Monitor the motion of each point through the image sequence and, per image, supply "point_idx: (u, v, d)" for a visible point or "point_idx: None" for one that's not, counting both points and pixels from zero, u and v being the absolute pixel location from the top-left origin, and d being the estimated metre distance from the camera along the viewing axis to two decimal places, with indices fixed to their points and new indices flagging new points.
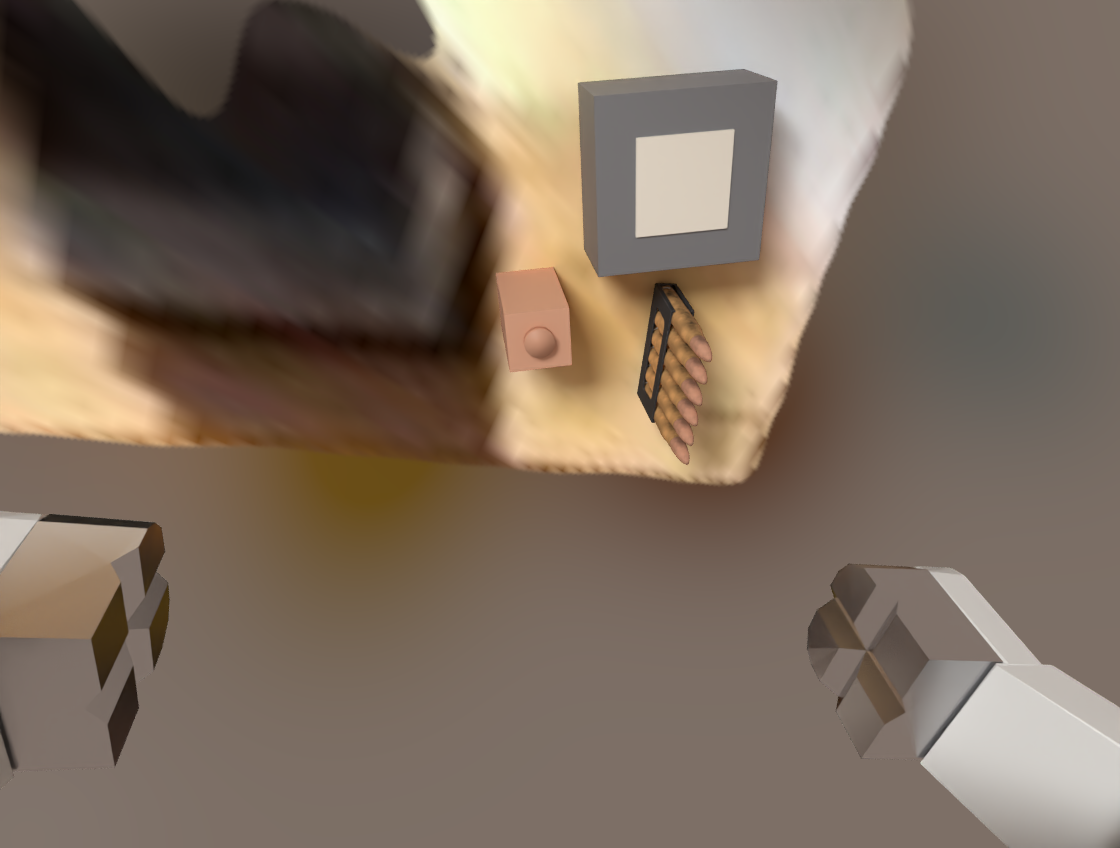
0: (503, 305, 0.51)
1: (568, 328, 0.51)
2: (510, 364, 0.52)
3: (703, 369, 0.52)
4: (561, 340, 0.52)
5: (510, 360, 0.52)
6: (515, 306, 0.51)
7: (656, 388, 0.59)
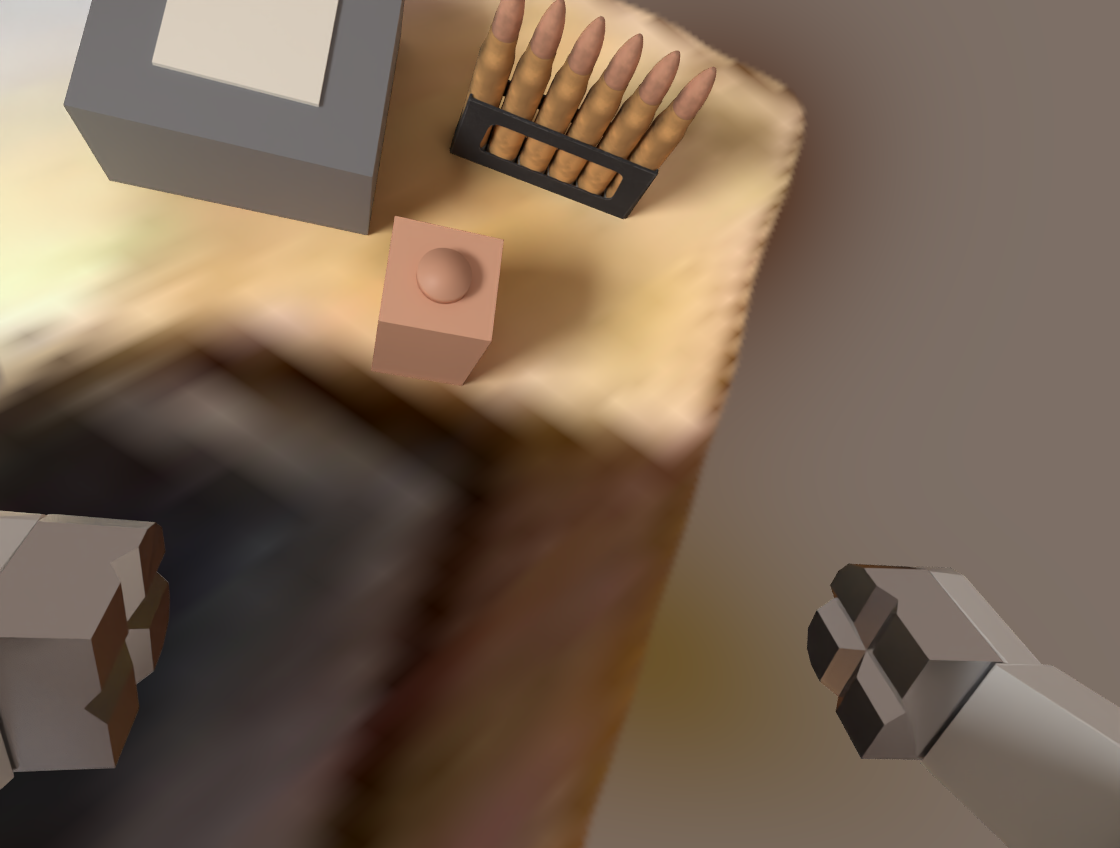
0: (377, 330, 0.30)
1: (433, 226, 0.30)
2: (476, 336, 0.30)
3: (544, 13, 0.30)
4: (453, 243, 0.30)
5: (468, 334, 0.30)
6: None
7: (599, 155, 0.37)
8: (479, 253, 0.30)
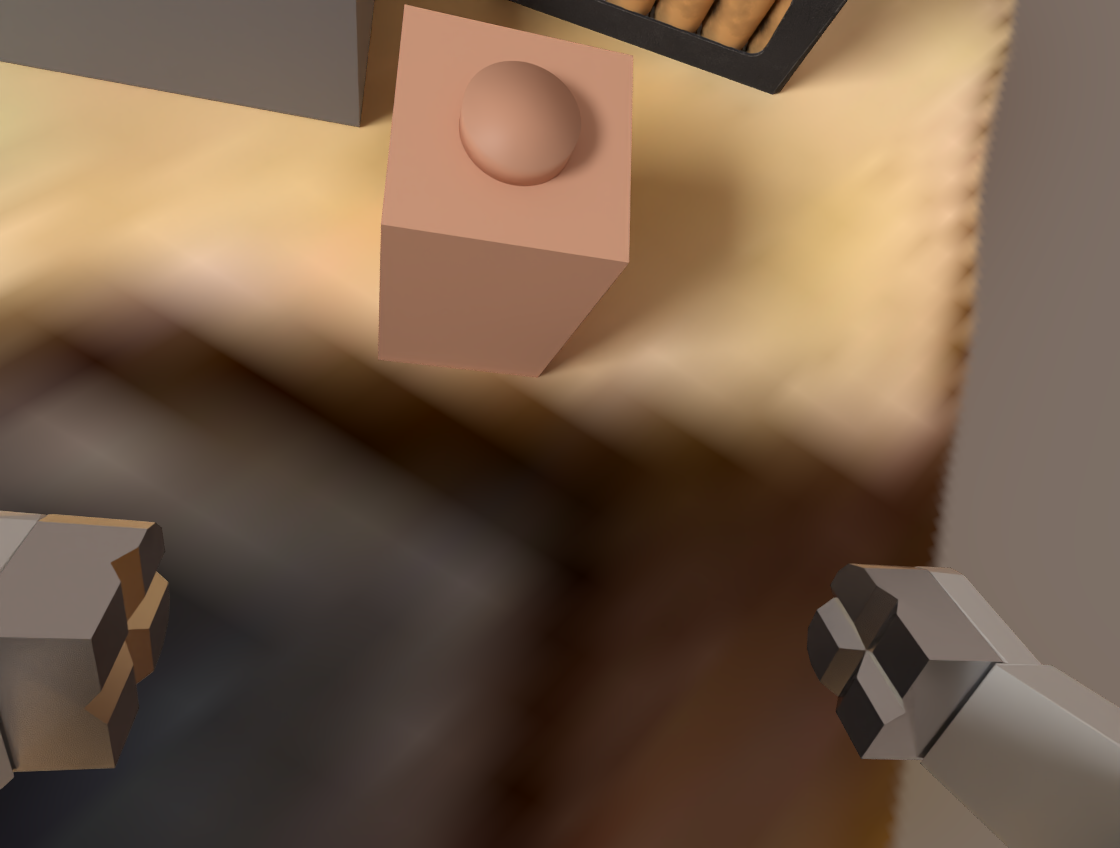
0: None
1: (488, 28, 0.14)
2: (597, 253, 0.14)
3: None
4: (531, 62, 0.14)
5: (580, 248, 0.13)
6: None
7: None
8: (587, 82, 0.14)
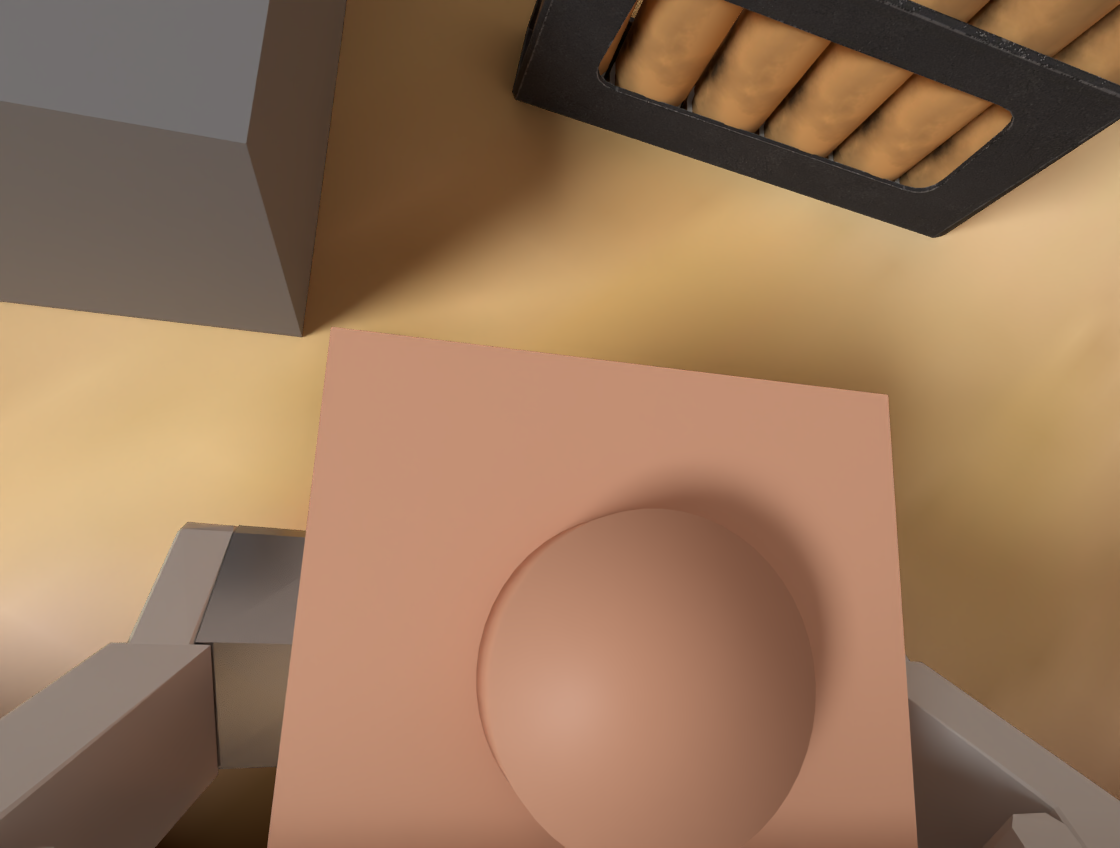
0: None
1: (550, 368, 0.05)
2: None
3: None
4: (659, 449, 0.06)
5: None
6: None
7: (979, 54, 0.12)
8: (792, 485, 0.06)
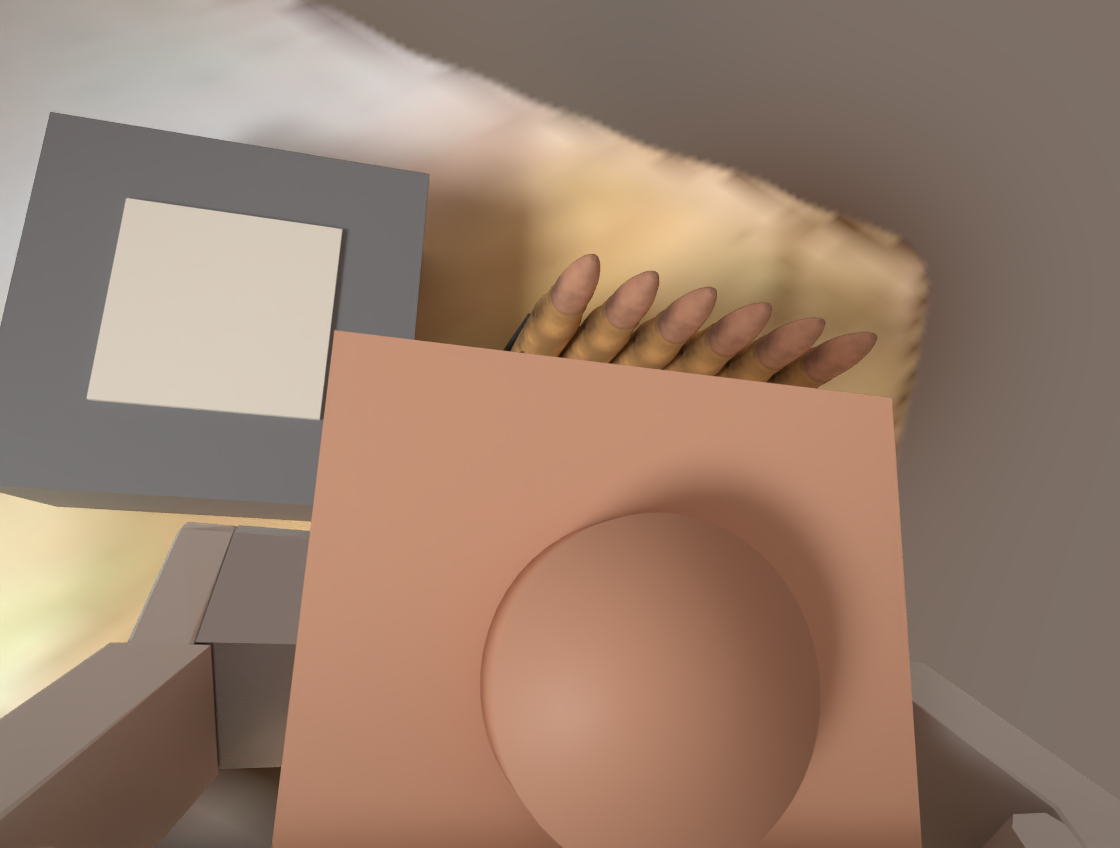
0: None
1: (554, 371, 0.05)
2: None
3: (627, 281, 0.21)
4: (662, 453, 0.06)
5: None
6: None
7: None
8: (796, 488, 0.06)
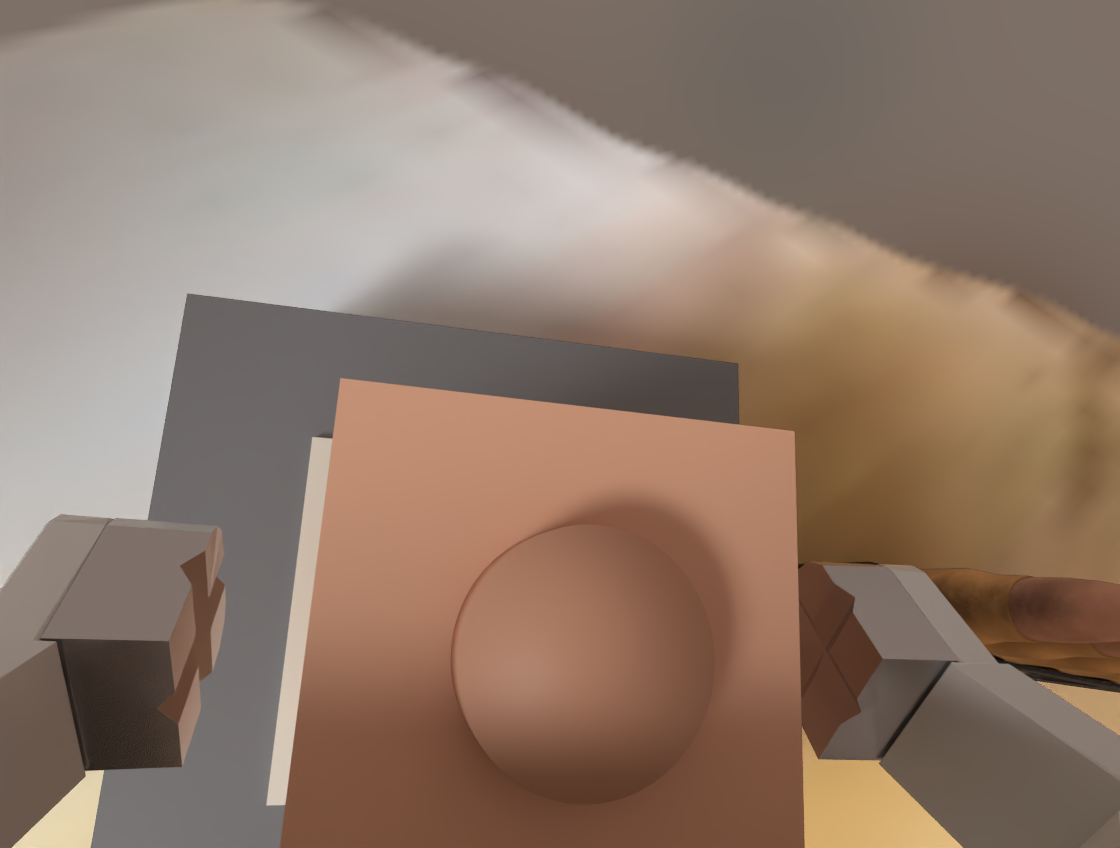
0: None
1: (514, 410, 0.07)
2: None
3: None
4: (601, 475, 0.07)
5: None
6: None
7: (1086, 681, 0.19)
8: (710, 504, 0.07)
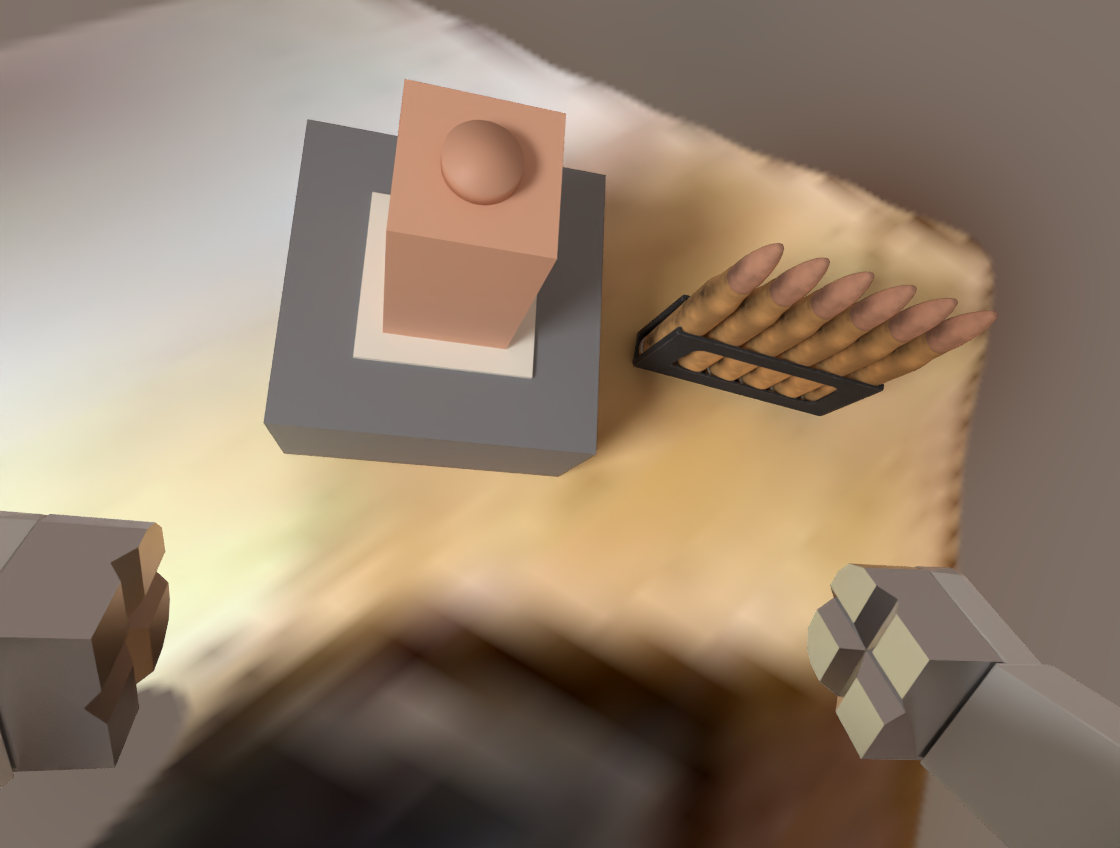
0: None
1: (462, 95, 0.20)
2: (534, 252, 0.20)
3: (797, 266, 0.26)
4: (492, 118, 0.20)
5: (522, 248, 0.20)
6: None
7: (818, 375, 0.32)
8: (531, 132, 0.20)
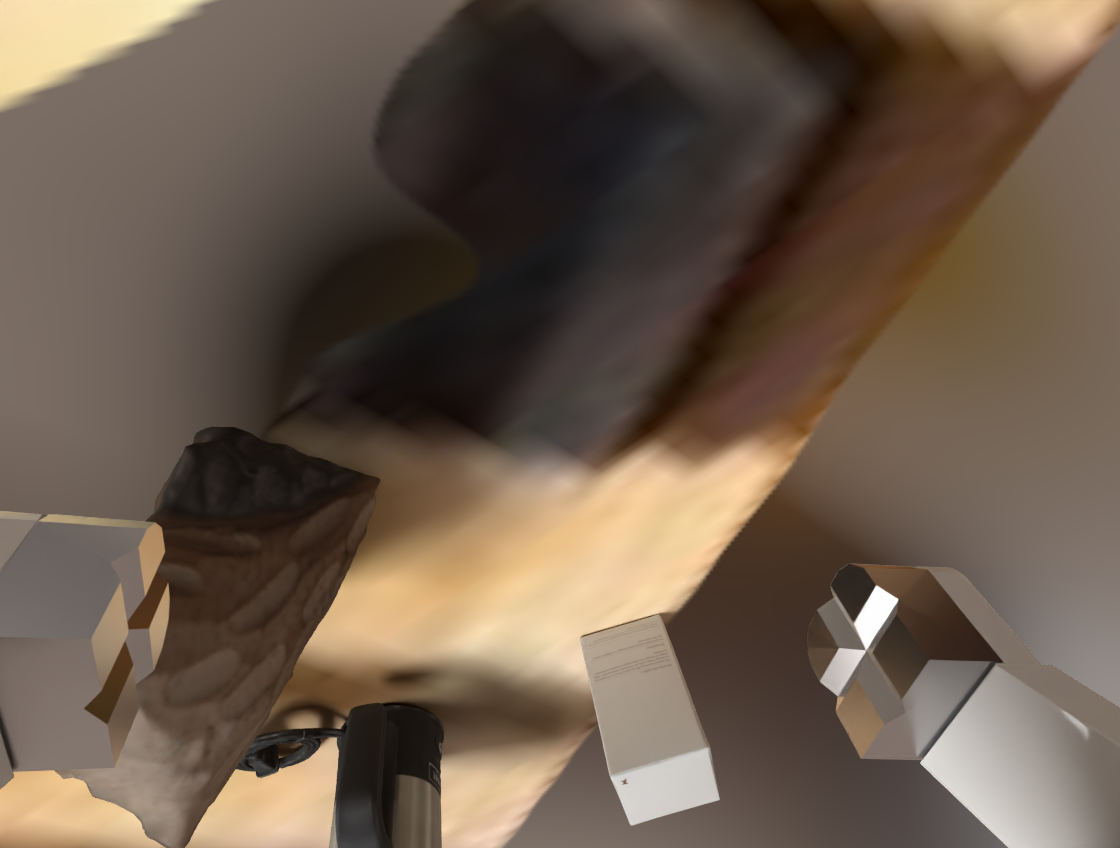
0: None
1: None
2: None
3: None
4: None
5: None
6: None
7: None
8: None
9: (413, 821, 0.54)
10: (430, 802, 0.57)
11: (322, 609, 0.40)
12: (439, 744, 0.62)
